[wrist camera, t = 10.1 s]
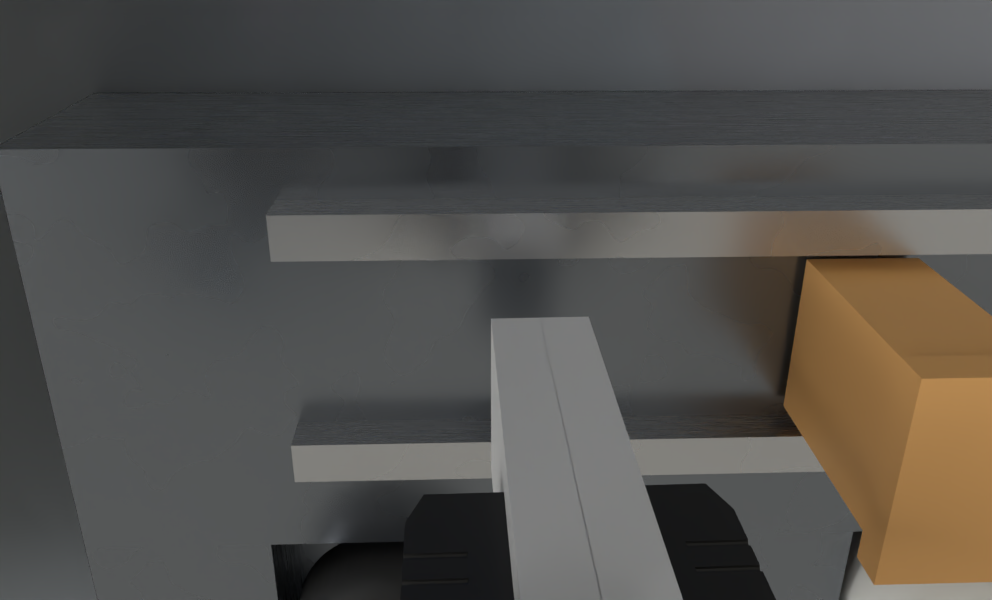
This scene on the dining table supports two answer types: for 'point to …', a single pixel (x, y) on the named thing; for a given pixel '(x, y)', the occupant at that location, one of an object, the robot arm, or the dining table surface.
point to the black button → (356, 573)
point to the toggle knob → (899, 413)
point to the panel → (450, 300)
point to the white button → (903, 585)
